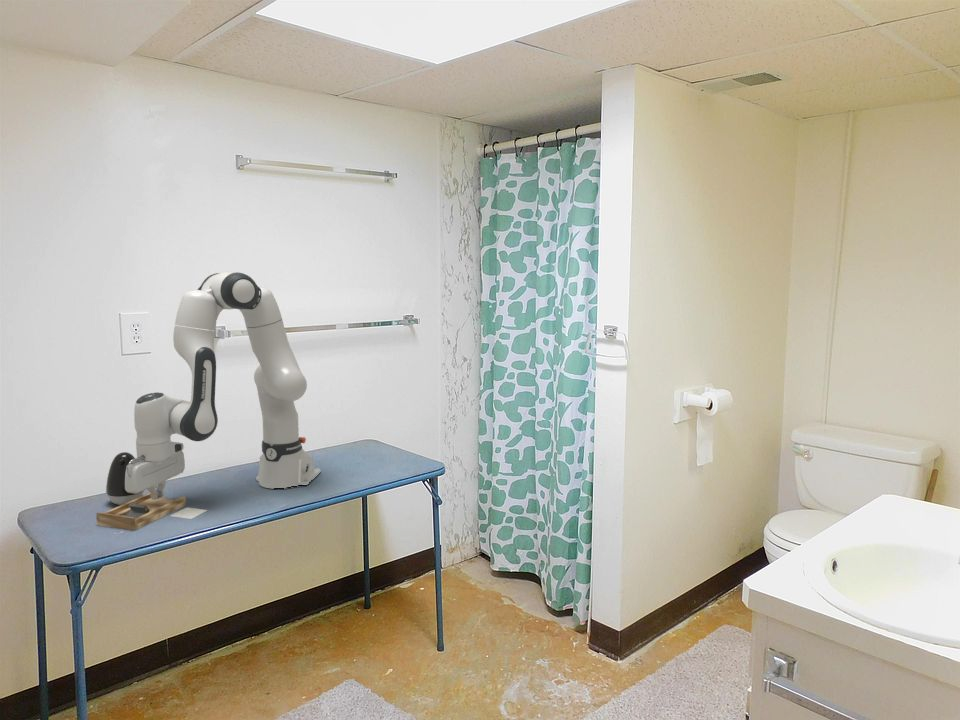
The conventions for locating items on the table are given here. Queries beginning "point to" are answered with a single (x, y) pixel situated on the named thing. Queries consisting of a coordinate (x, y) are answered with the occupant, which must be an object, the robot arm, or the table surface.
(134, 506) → the clip
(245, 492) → the table surface
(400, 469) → the table surface
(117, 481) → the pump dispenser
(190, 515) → the white square plate
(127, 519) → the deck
